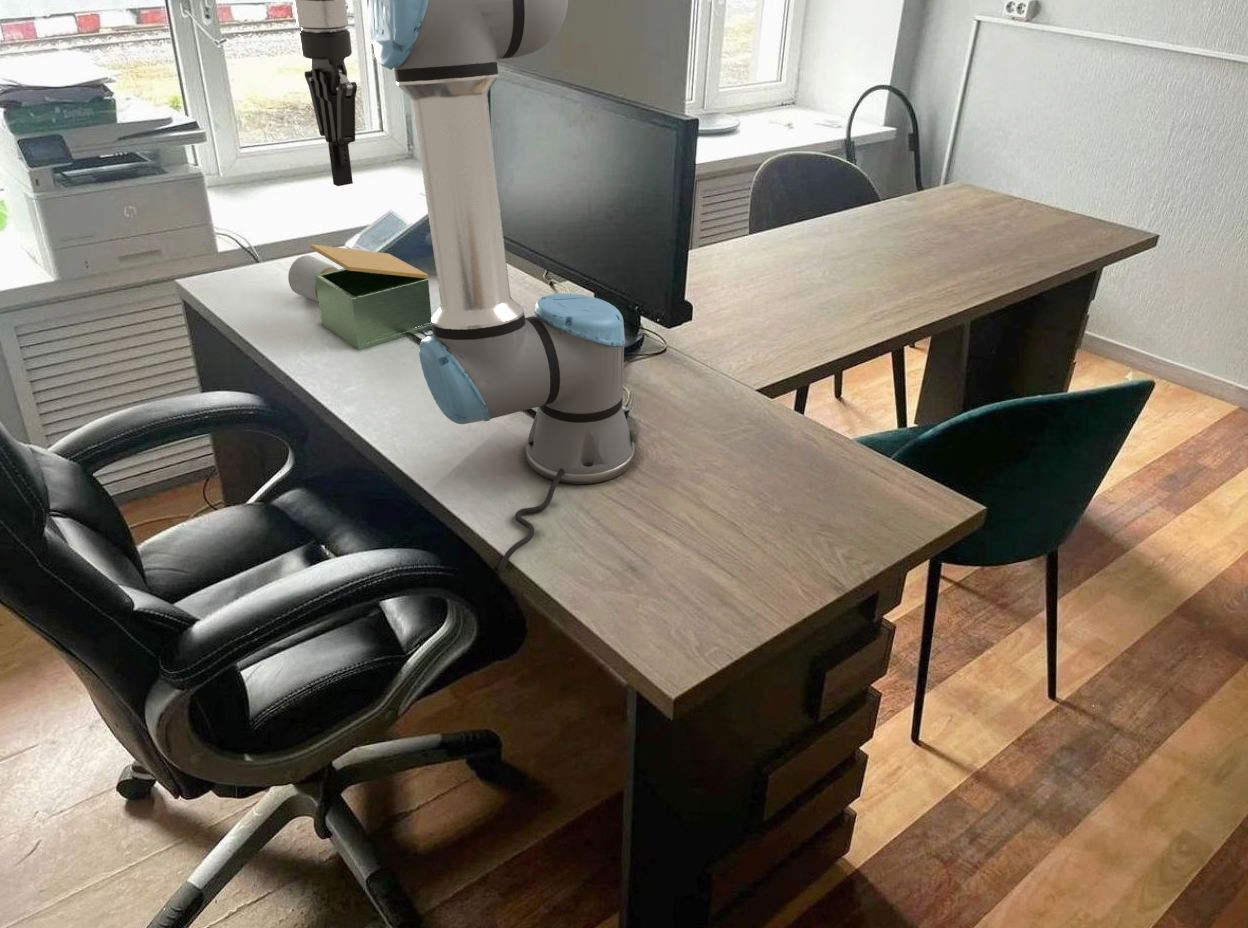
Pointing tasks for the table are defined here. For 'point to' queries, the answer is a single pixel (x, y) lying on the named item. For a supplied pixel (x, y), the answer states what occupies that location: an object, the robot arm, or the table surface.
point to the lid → (368, 261)
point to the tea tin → (372, 306)
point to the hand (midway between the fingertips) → (343, 183)
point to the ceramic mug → (307, 275)
